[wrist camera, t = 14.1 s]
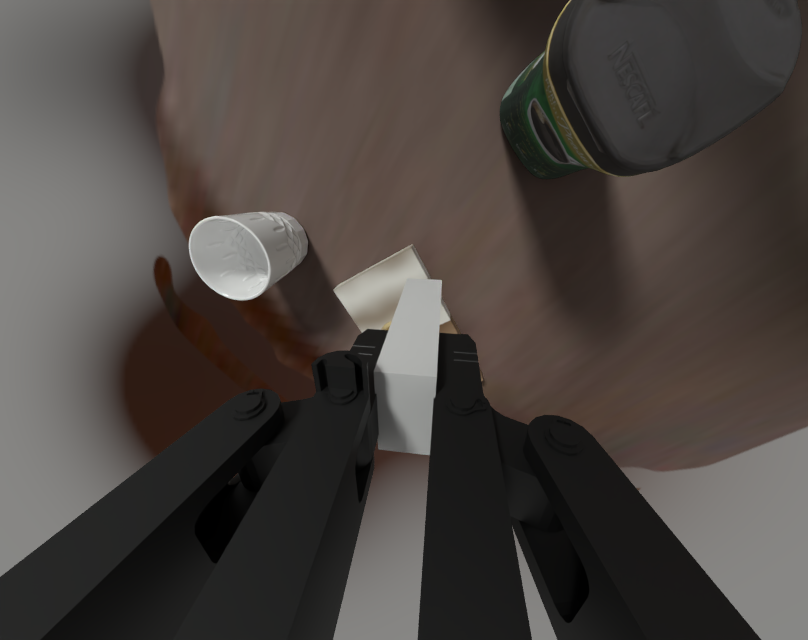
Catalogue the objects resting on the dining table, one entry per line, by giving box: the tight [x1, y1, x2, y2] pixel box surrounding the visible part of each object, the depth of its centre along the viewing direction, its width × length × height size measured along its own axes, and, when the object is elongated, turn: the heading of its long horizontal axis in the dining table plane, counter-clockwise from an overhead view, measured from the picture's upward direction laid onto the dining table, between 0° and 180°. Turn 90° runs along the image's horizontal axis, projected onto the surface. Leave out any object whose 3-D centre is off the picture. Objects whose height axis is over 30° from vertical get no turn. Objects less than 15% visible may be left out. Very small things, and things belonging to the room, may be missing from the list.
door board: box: [333, 244, 483, 381], centre depth 37 cm, size 20×11×6 cm, turn 29°
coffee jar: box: [500, 0, 802, 179], centre depth 19 cm, size 10×8×19 cm
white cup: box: [189, 212, 308, 300], centre depth 32 cm, size 8×8×10 cm
